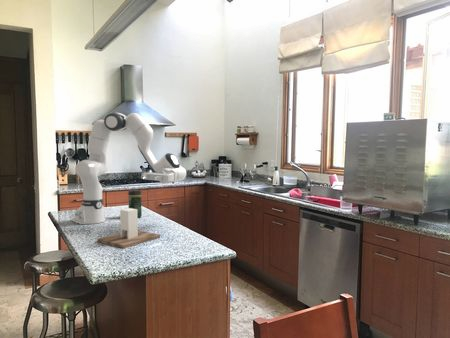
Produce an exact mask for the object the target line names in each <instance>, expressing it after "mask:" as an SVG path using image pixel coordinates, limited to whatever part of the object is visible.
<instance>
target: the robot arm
mask: <svg viewBox="0 0 450 338" xmlns="http://www.w3.org/2000/svg"><path fill="white" fill-rule="evenodd" d="M126 129H127V130H128V131H130V132H131V134H133V136H134V138H135V140H136V142H137V148H138V150H139V152H140V154H141V155H142V157H143V158H144V160H145V162H146V163H147V165H148V167H149V169H150V170H151V172H142V174H141V176H140V179H141V180H147V181H148V180H149V181H157V182H160V183H161V184H164V185H165V184H171V183H177V182H178V183H179V182H181V181H183V180H185V179H186V177H187V170H186V168H185V167H183V166H182V165H181V164H180V161H179V158H178V157H177V156H176V155H174V154H173V153H165V155H163V156H162V157H161V158H160V159H158V161H157V159H156V158H155V156H154V154H153V153H152V151H151V144H152V141H153V138H154V130H153V128H152V127H151V125H150V124H149V123H148V121H147V120H145V119H144V118H143V117H142V116H141V115H140V114H139V113H137V112H132V113H129V114H128V115H126V114H125V113H122V112H110V113H107V115H106V116H105V118H104V119H97V120H96V121H95V122H94V123H93V125H92V128H91V131H90V135H89V139H88V144H87V150H88V153H89V157H88V159H83V160H81V161H79V162H77V164H76V165H75V169H74V170H75V174H76V175H77V176H78V177H79V179H80V183H81V184H82V192H83V194H82V195H83V198H82V200H80V202H81V206H80V207H79V208H77V209H76V210H75V213H74V217H72V218H71V219H70V221H71V222H74V223H77V224H78V223H79V225H93V224H95V225H96V224H100V223H104V222H106V220H107V217H106V212H105V207H104V198H103V185H102V184H101V183H100V180H99V176H102V175H104V174H105V173H106V172H107V171H108V168H109V166H108V162H107V149H108V144H109V141H110V136H111V134H112V132H120V131H124V130H126Z"/></svg>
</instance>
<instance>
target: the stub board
mask: <svg viewBox="0 0 450 338" xmlns="http://www.w3.org/2000/svg"><path fill="white" fill-rule="evenodd" d="M124 234H125V237H121V232H118V233H115V234H110V235H106V236H102V237H99V238H96V240H97V241H96V242H97V243H101V244H105V245H108V246H113V247H115V248H116V247H117V248H121V249H127V248H131V247H134V246H136V245H140V244H144V243H147V242H150V241H154V240H157V239H160V238H161V234H160V233H159V234H158V233H154V232H149V231H144V230H140V229H138V236H137V237H133V238H130V239H127V231H125V232H124Z"/></svg>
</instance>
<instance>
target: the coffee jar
mask: <svg viewBox="0 0 450 338" xmlns="http://www.w3.org/2000/svg"><path fill="white" fill-rule="evenodd" d="M127 195H128V196H127V197H128V208H132V209H137V217H138V218H142V215H143V214H142V213H143V211H142V210H143V209H142V191H141V190H139V189H137V188H130V189H128V192H127Z"/></svg>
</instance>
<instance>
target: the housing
mask: <svg viewBox="0 0 450 338" xmlns="http://www.w3.org/2000/svg"><path fill="white" fill-rule="evenodd" d="M119 215H120V216H119V217H120V220H119V221H120V223H119V224H120V233H121V237H125V234H124V232H125V231H127V239H130V238H133V237H137V236H138V230H139V229H138V228H139V226H138V224H139V223H138V221H139V220H138V219H139V217H137V209H132V208H129V207H128V208H124V209H120V210H119Z"/></svg>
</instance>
